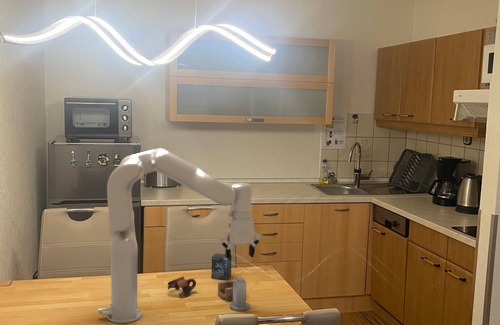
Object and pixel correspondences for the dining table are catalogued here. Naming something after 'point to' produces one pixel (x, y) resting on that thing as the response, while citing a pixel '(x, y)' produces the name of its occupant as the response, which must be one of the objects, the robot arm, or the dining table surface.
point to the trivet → (239, 307)
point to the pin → (239, 292)
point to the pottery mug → (182, 286)
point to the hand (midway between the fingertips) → (239, 257)
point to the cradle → (225, 290)
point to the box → (221, 267)
